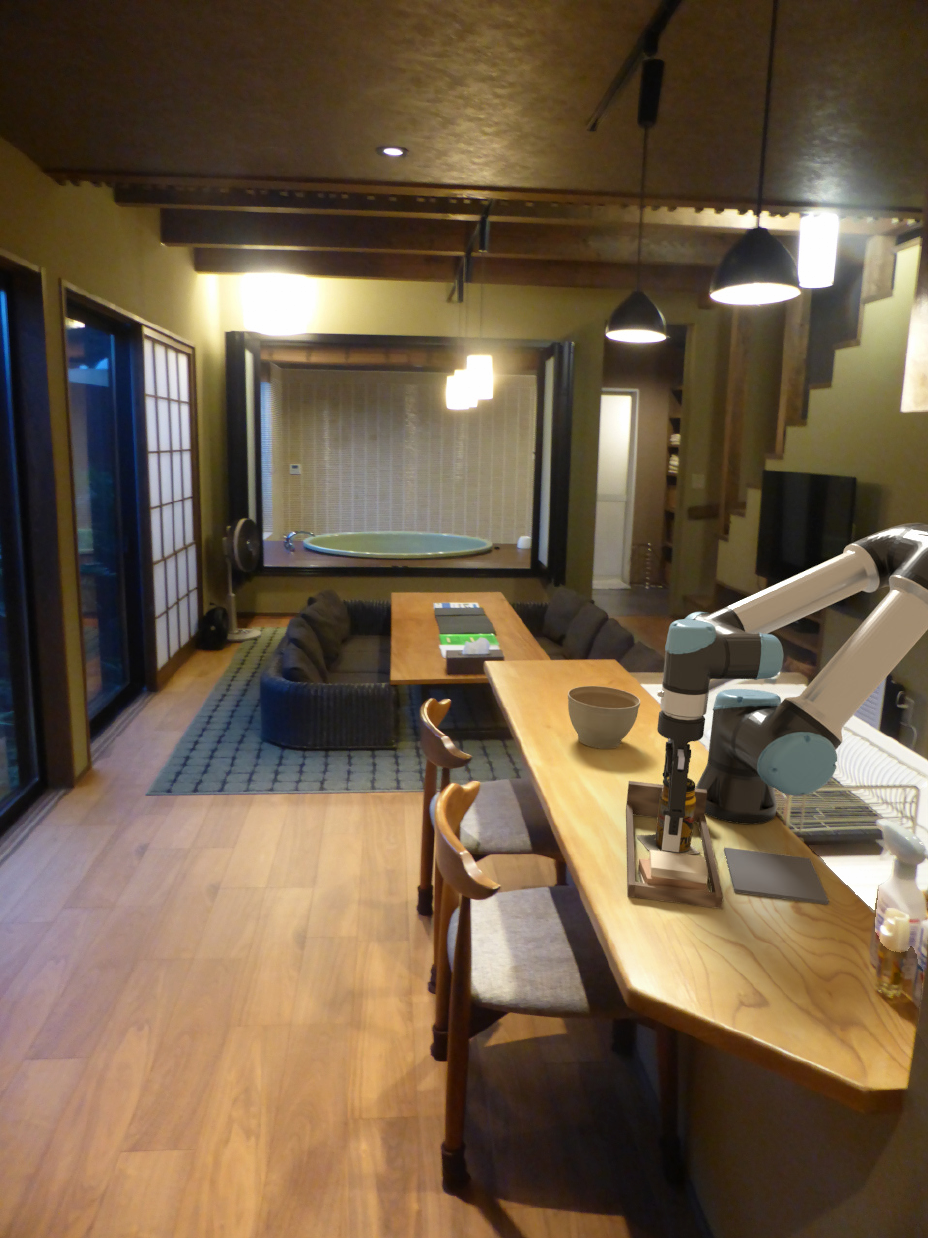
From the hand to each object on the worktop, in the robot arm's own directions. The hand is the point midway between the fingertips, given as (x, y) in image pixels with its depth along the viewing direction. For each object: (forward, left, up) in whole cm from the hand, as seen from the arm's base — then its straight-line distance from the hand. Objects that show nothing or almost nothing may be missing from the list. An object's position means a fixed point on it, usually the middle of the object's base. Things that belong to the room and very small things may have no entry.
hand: (668, 835), depth 151 cm
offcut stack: (0, +14, -2) cm, 14 cm away
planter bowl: (+12, -48, -2) cm, 49 cm away
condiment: (0, 0, -2) cm, 2 cm away
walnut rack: (0, +3, -2) cm, 4 cm away
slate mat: (-17, +6, -2) cm, 18 cm away
